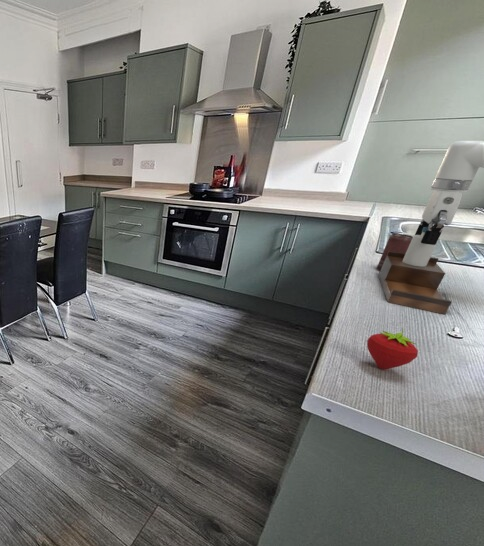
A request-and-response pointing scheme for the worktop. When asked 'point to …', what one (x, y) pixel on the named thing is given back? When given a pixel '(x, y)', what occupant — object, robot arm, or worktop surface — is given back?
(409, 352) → the strawberry
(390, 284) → the rack
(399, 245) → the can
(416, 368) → the worktop surface
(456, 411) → the worktop surface
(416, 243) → the bottle
